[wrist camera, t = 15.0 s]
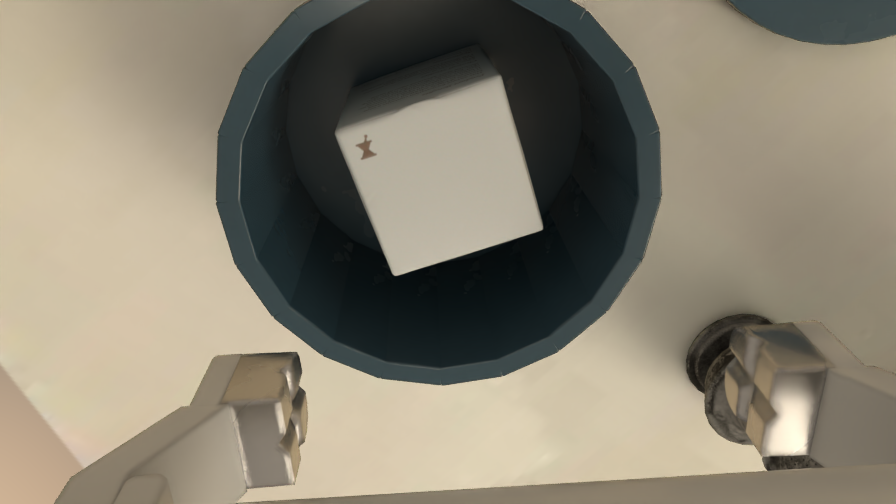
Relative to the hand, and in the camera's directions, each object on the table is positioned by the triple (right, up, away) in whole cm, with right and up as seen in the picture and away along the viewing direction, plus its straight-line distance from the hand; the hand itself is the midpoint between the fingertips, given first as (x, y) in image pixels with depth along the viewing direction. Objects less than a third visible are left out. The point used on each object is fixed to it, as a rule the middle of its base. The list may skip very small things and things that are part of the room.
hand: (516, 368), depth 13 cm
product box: (-2, +8, +18) cm, 20 cm away
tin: (-2, +8, +19) cm, 20 cm away
